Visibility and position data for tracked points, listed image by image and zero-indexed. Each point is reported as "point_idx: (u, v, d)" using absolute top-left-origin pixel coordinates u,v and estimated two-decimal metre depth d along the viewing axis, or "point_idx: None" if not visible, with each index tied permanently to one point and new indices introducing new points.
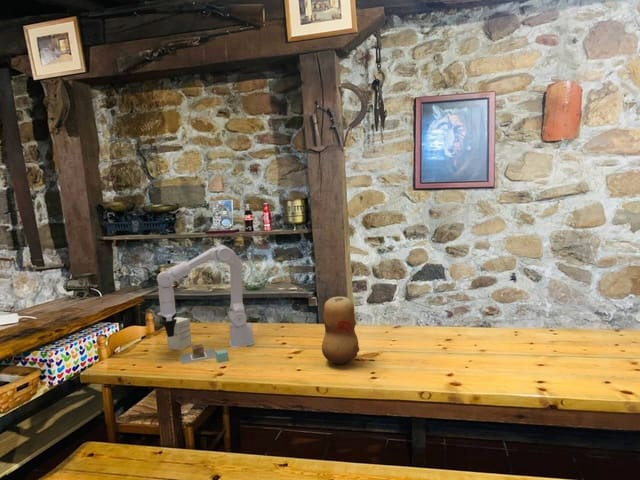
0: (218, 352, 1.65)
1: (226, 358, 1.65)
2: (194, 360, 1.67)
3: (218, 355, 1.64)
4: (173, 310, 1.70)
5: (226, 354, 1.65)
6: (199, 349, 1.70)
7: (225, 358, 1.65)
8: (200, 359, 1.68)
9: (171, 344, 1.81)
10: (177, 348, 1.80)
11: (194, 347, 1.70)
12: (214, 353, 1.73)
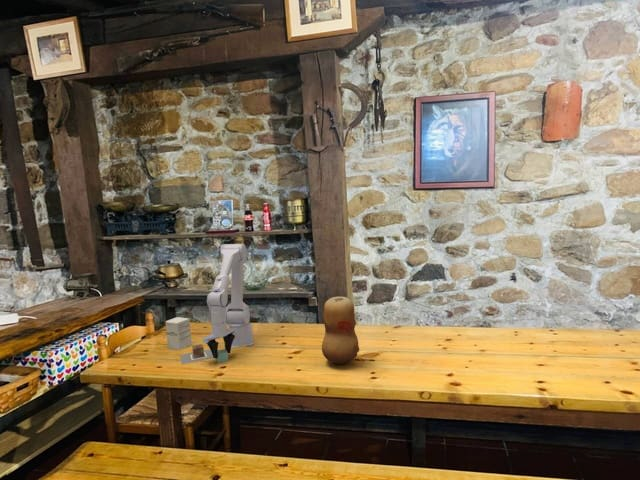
0: (218, 352, 1.65)
1: (226, 358, 1.65)
2: (194, 360, 1.67)
3: (218, 355, 1.64)
4: (218, 333, 1.62)
5: (226, 354, 1.65)
6: (199, 349, 1.70)
7: (225, 358, 1.65)
8: (200, 359, 1.68)
9: (171, 344, 1.81)
10: (177, 348, 1.80)
11: (194, 347, 1.70)
12: None
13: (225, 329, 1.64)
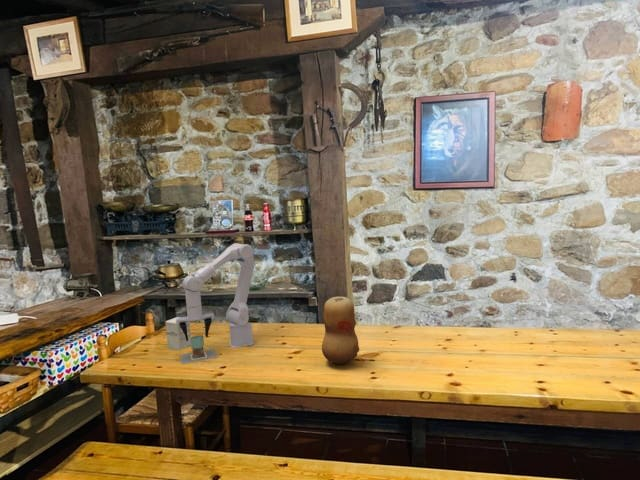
0: (193, 337, 1.71)
1: (199, 344, 1.69)
2: (194, 360, 1.67)
3: (191, 340, 1.69)
4: (190, 316, 1.67)
5: (198, 340, 1.69)
6: (199, 349, 1.70)
7: (197, 344, 1.69)
8: (200, 359, 1.68)
9: (171, 344, 1.81)
10: (177, 348, 1.80)
11: None
12: (214, 353, 1.73)
13: (197, 313, 1.67)
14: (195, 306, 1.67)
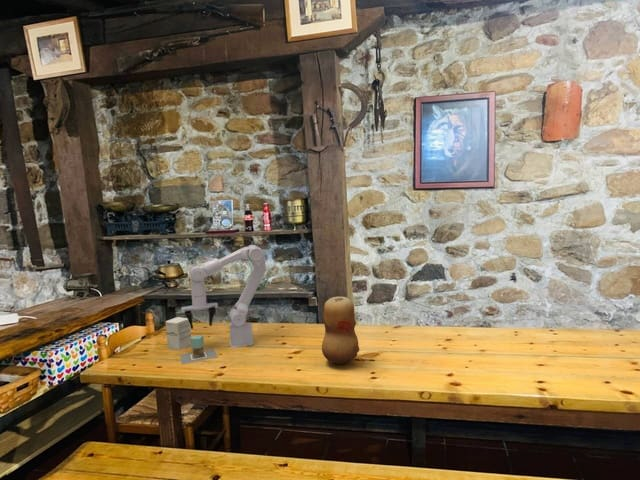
0: (193, 337, 1.71)
1: (199, 344, 1.69)
2: (194, 360, 1.67)
3: (191, 340, 1.69)
4: (195, 305, 1.74)
5: (198, 340, 1.69)
6: (199, 349, 1.70)
7: (197, 344, 1.69)
8: (200, 359, 1.68)
9: (171, 344, 1.81)
10: (177, 348, 1.80)
11: None
12: (214, 353, 1.73)
13: (202, 303, 1.75)
14: (197, 296, 1.74)
